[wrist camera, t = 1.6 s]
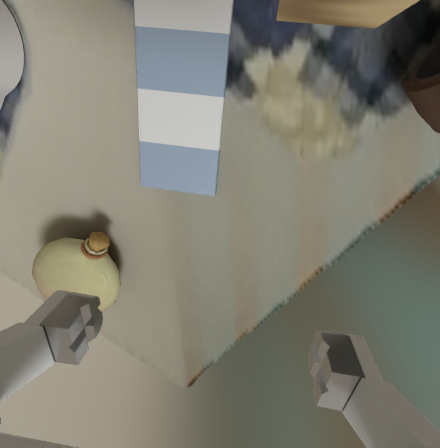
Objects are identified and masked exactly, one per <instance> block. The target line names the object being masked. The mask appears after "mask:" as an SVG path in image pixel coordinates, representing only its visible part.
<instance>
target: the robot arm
mask: <svg viewBox="0 0 440 448" xmlns="http://www.w3.org/2000/svg"><path fill="white" fill-rule="evenodd" d="M23 67H24V50H23V44H22V39H21V36H20V33H19V30H18V27H17V25H16V22H15V20H14V18H13V16H12V14H11V13H10V11H9V9H8V8H7V6H6V5H5V3H4V2H3V1H2V0H0V109H1V107H2V105H3V102H4V98H5V97H6V95H7V94H8V93H10V92H11V91H12V90H13V89H14V88H15V87H16V86H17V84H18V82H19V81H20V78H21V76H22V72H23ZM100 304H101V303H100V299H99V297H97V296H92V295H87V294H81V293H76V292H69V291H63V290H58V291H56V292H54V293H53V294H52V295H51V296H50V297H49V298H48V299H47V300H46V301H45V302H44V303H43V304H42V305H41V306H40V307H39V308H38V309H37V310H36V311H35V312H34V313H33V314H32V315H31V316H30V317H29V318H28V319H27V320H26V321H25V322H24V323H17V324H15V325H13V326H11V327H9V328H7V329H5V330H2V331H0V403H1V402H2V401H3V400H5V399H6V398H8V397H9V396H11V395H12V394H13V393H15V392H16V391H17V390H19V389H20V388H22V387H23V386H24V385H26V384H27V383H28V382H30V381H31V380H32V379H34V378H35V377H36V376H38V375H39V374H41V373H42V372H43V371H45V370H46V369H47V368H49V367H50V366H51V365H53V364H54V363H55V362H60V363H67V364H74V365H78V364H79V363H80V361H81V359H82V358H83V357H84V355H85V353H86V352H87V350H88V348H89V347H88V342H90V341H91V340H93V339H94V338H96V336H97V334H98V333H99V331H100V329H101V326H102V322H103V315H102V312H101V311H100V310H99V309H98V307H99V306H100ZM314 338H315V343H314V344H312V345H311V347H310V350H309V356H308V364H309V371H310V374H311V375H312V376H313V377H314V379H315V381H314V383H313V391H314V396H315V401H316V405H317V406H320V407H325V408H330V409H335V410H340V411H343V412H342V413H343V414H344V415H345V417H346V419H347V420H348V421H349V423H350V424H351V426H352V427H353V429H354V430H355V431H356V433H357V434H358V436H359V437H360V439H361V440H362V442H363V443H364V445H365V446H366V447H367V448H440V431H439V430H438V429H437V428H435V427H434V426H433V425H432V424H431V423H430V422H429V421H428V420H427V419H426V418H425V417H424V416H423V415H422V414H421V413H420V412H419V411H418V410H417V409H416V408H415V407H414V406H413V405H411V404H410V403H409V402H408V401H407V400H406V399H405V398H404V397H403V396H402V395H401V394H400V393H399V392H398V391H397V390H396V389H395V388H394V387H393V386H392V385H391V384H390V383H389V382H384V381H383V379H382V377H381V374H380V372H379V370H378V368H377V366H376V363H375V361H374V359H373V357H372V355H371V352H370V350H369V348H368V346H367V343H366V341H365V339H364V338H363V337H362V336H357V335H350V334H344V333H336V332H330V331H323V330H318V331H317V332H316V333H315V336H314ZM0 424H1V418H0ZM0 448H78V447H73V446H68V445H62V444H57V443H52V442H47V441H41V440H36V439H31V438H25V437H20V436H15V435H10V434H5V433H0Z"/></svg>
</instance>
